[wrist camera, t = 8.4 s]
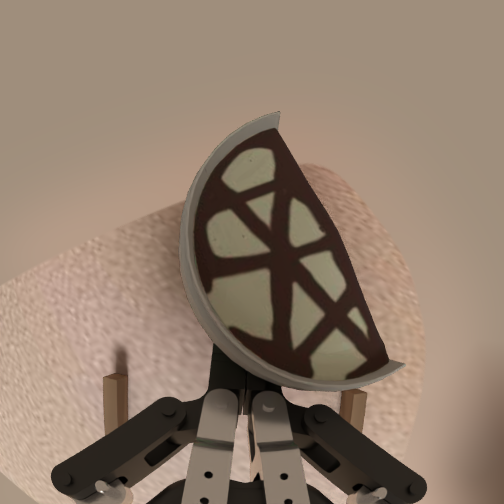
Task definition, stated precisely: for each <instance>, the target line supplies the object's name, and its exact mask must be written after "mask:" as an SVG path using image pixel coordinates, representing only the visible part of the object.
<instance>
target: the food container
mask: <svg viewBox="0 0 504 504" xmlns="http://www.w3.org/2000/svg"><path fill="white" fill-rule="evenodd" d="M279 118H280V111H278V112H275V113H271V114H268V115H264V116H261V117H259V118H257V119H255V120H253V121H251V122H249V123H246V124H245V125H243V126H241V127H240V128H238V129H237V130H235V131H234V132H233V133H231V134H230V135H229V136H228V137H226V138H225V139H224V140H223V141H222V142H221V143H220V144H219V145H218V146H217V147H216V148H215V149H214V151H213V152H212V154H211V155H210V156H209V157H208V159H207V160H206V161H205V163H204V164H203V165H202V167H201V168H200V170H199V171H198V173H197V175H196V177H195V179H194V181H193V183H192V185H191V187H190V189H189V191H188V194H187V198H186V201H185V205H184V209H183V212H182V218H181V226H180V237H179V251H178V252H179V262H180V272H181V277H182V281H183V285H184V288H185V292H186V295H187V299H188V301H189V303H190V305H191V307H192V309H193V311H194V313H195V315H196V317H197V319H198V322H199V323H200V324H201V326H202V327H203V329H204V330H205V331H206V333H207V334H208V336H209V337H210V338H211V340H212V341H213V342H214V343H215V344H216V345H217V346H218V347H219V348H220V349H221V350H222V351H223V352H224V353H225V354H226V355H227V356H228V357H229V358H230V359H231V360H232V361H234V362H235V363H237V364H238V365H239V366H241V367H242V368H244V369H245V370H247V371H248V372H250V373H251V374H253V375H255V376H257V377H260V378H262V379H264V380H266V381H269V382H271V383H273V384H276V385H280V386H284V387H288V388H292V389H297V390H305V391H331V392H336V391H343V390H350V389H356V388H360V387H363V386H366V385H369V384H372V383H375V382H377V381H380V380H382V379H384V378H386V377H387V376H390V375H391V374H393V373H395V372H396V371H398V370H400V369H401V368H403V367H405V366H406V364H404V363H400V362H397V361H393V360H390V359H389V358H388V355H387V353H386V349H385V345H384V343H383V341H382V339H381V338H380V335H379V333H378V331H377V329H376V326H375V324H374V321H373V319H372V316H371V314H370V311H369V309H368V306H367V304H366V301H365V299H364V296H363V293H362V291H361V288H360V285H359V283H358V280H357V277H356V275H355V272H354V269H353V266H352V264H351V261H350V258H349V256H348V253H347V251H346V249H345V246H344V244H343V241H342V239H341V236H340V234H339V232H338V230H337V228H336V227H335V225H334V223H333V221H332V220H331V218H330V216H329V215H328V213H327V211H326V210H325V208H324V207H323V205H322V204H321V202H320V200H319V199H318V197H317V196H316V194H315V193H314V191H313V189H312V188H311V186H310V185H309V183H308V181H307V180H306V178H305V176H304V175H303V173H302V171H301V169H300V168H299V166H298V164H297V162H296V161H295V159H294V158H293V156H292V154H291V153H290V151H289V149H288V147H287V146H286V144H285V142H284V141H283V139H282V137H281V136H280V134H279V133H278V125H279Z"/></svg>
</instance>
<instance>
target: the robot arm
mask: <svg viewBox="0 0 504 504" xmlns="http://www.w3.org/2000/svg"><path fill="white" fill-rule="evenodd" d="M242 406H243V415H248V426H247V437H248V448H249V458H250V482H248V483H242V482H238V481H234V480H230V473H231V464H232V456H233V447H234V437H235V430H236V428H237V422H238V415H241V413H242ZM193 442H194V443H193ZM189 443H193V447H192V451H191V456H190V461H189V466H188V471H187V476H186V479H183V480H180V481H177V482H175V483H173V484H171V485H169V486H168V487H166V488H165V489H164V490H163V491H161V492H160V493H159V494H158V495H156V496H155V497H154V498H153V499H151V500H150V501H149V502H148V503H146V504H334V503H332V502H331V501H330V500H329V499H328V498H327V497H325V496H324V495H323V494H322V493H321V492H320V491H319V490H317V489H316V488H314V487H313V486H311V485H309V484H306V480H305V475H304V470H303V465H302V460H301V456H302V457H303V458H304V459H305V460H306V461H307V462H308V463H309V464H311V465H312V466H313V467H314V468H315V469H316V470H317V471H319V472H320V473H321V474H322V475H323V476H325V477H326V478H327V479H328V480H329V481H331V482H332V483H333V484H334V485H336V486H337V487H338V488H339V489H341V490H342V491H343V492H344V493H346V494H347V495H348V498H347V501H346V504H413V503H416V502H418V501H419V500H421V499H422V498H423V497H424V495H425V493H426V491H427V484H426V481H425V480H424V478H422V477H421V476H420V475H418V474H417V473H415V472H414V471H412V470H411V469H410V468H408V467H407V466H405V465H404V464H402V463H401V462H400V461H398V460H397V459H395V458H394V457H393V456H391V455H390V454H389V453H387V452H386V451H385V450H383V449H382V448H380V447H379V446H378V445H376V444H375V443H374V442H373V441H371V440H370V439H369V438H367V437H366V436H365V435H363V434H362V433H361V432H360V431H358V430H357V429H356V428H355V427H353V426H352V425H351V424H350V423H348V422H347V421H346V420H345V419H343V418H342V417H341V416H340V415H338V414H337V413H336V412H335V411H334V410H332V409H331V408H330V407H328V406H326V405H322V404H316V405H313V406H311V407H309V408H305V407H302V406H298V405H295V404H292V403H290V402H289V401H288V400H287V399H286V398H285V397H284V396H283V393H282V389H281V386H280V385H276V384H273V383H271V382H269V381H266V380H264V379H262V378H260V377H257V376H255V375H253V374H251V373H250V372H248V371H247V370H245V369H244V368H242V367H241V366H239V365H238V364H237V363H235V362H234V361H232V360H231V359H230V358H229V357H228V356H227V355H226V354H225V353H224V352H223V351H222V350H221V349H220V348H219V347H218V346H217V345H216V344H215V343H213V352H212V360H211V368H210V377H209V386H208V390H207V392H206V393H205V395H204V396H202V397H201V398H199V399H197V400H193V401H188V402H181V401H180V400H178V399H176V398H173V397H163V398H160V399H159V400H157V401H156V402H154V403H153V404H151V405H150V406H149V407H147V408H146V409H144V410H143V411H141V412H140V413H139V414H137V415H136V416H134V417H133V418H131V419H130V420H128V421H127V422H125V423H124V424H122V425H121V426H119V427H118V428H116V429H115V430H113V431H112V432H110V433H109V434H107V435H106V436H104V437H103V438H101V439H100V440H98V441H96V442H95V443H93V444H92V445H90V446H88V447H87V448H85V449H84V450H82V451H80V452H79V453H77V454H75V455H74V456H72V457H70V458H69V459H67V460H65V461H64V462H62V463H60V464H58V465H57V466H55V467H54V468H53V470H52V473H51V480H52V483H53V485H54V487H55V488H56V489H57V490H58V491H59V492H61V493H63V494H65V495H67V496H69V497H70V498H72V499H73V500H74V501H75V502H76V504H132V502H133V493H132V491H131V489H130V488H131V487H132V486H134V485H135V484H136V483H138V482H139V481H141V480H142V479H144V478H145V477H146V476H148V475H149V474H150V473H152V472H153V471H154V470H156V469H157V468H158V467H160V466H161V465H162V464H164V463H165V462H166V461H168V460H169V459H170V458H171V457H173V456H174V455H175V454H177V453H178V452H179V451H180V450H181V449H183V448H184V447H185V446H186V445H188V444H189Z"/></svg>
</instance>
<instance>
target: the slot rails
mask: <svg viewBox="0 0 504 504" xmlns="http://www.w3.org/2000/svg"><path fill="white" fill-rule="evenodd" d="M127 386H128V376H126V375H121V374H117V373H114V374H111V375H108V376H105V377H103V404H104V426H105V436H106V435H107V434H109V433H110V432H112V431H113V430H115V429H116V428H118V427H119V426H121V425H122V424H124V423H125V422H127V421H128V405H127ZM366 399H367V393H366V392H364V391H361V390H359V389H350V390H343V391H342V398H341V407H340V416H341V417H342V418H343V419H345V420H346V421H347V422H348V423H350V424H351V425H352V426H353V427H355V428H356V429H357V430H358V431H360V432H361V433H362V429H363V423H364V416H365V408H366Z"/></svg>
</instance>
